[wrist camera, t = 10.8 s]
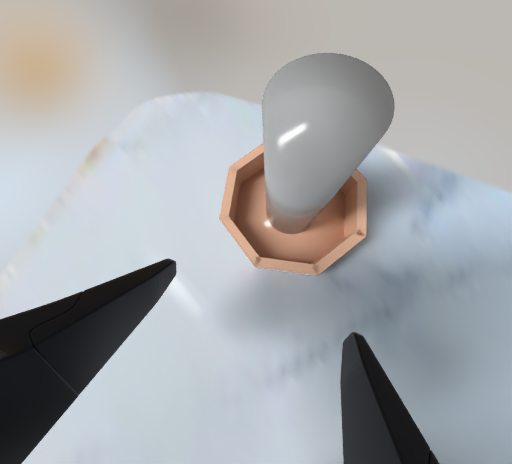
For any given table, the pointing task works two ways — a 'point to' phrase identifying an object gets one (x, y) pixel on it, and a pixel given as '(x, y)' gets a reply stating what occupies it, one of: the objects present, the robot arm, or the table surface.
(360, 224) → the terracotta bowl
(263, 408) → the table surface
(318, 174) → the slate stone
